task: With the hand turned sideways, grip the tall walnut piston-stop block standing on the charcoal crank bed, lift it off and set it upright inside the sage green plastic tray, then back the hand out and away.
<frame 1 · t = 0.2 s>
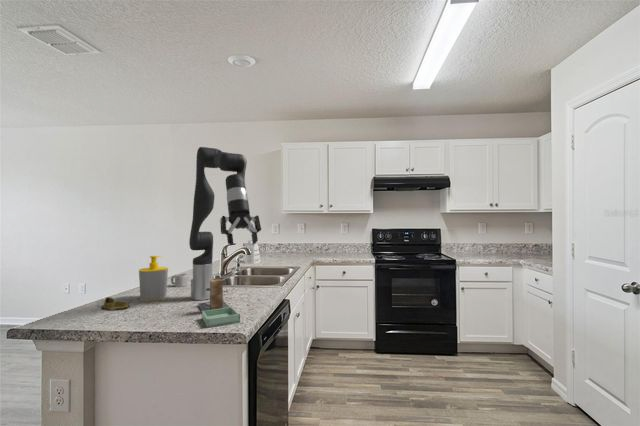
hand: (243, 244, 113), 31 cm above the worktop, tool tilted 20°, fingers open, 8 cm apart
soap bottle: (153, 298, 159), on the worktop
grater: (252, 262, 286), on the worktop
crank bed: (214, 308, 141), on the worktop
seal: (115, 308, 143), on the worktop
mug: (178, 286, 189), on the worktop
piston stop: (216, 308, 138), point 1 cm above the worktop, touching crank bed
tray: (220, 320, 124), on the worktop
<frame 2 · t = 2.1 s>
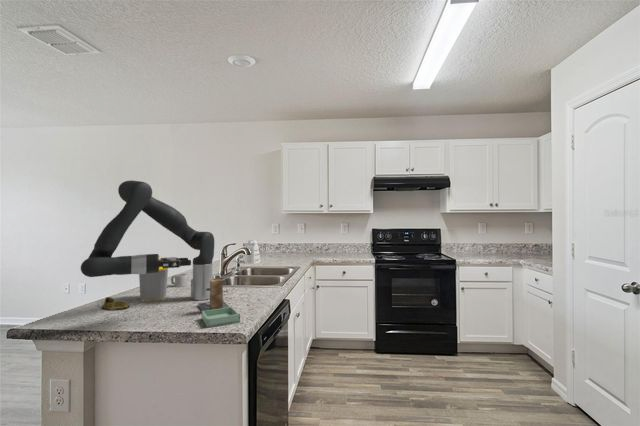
hand: (189, 261, 132), 22 cm above the worktop, tool horizontal, fingers open, 8 cm apart
nothing on the worktop moved.
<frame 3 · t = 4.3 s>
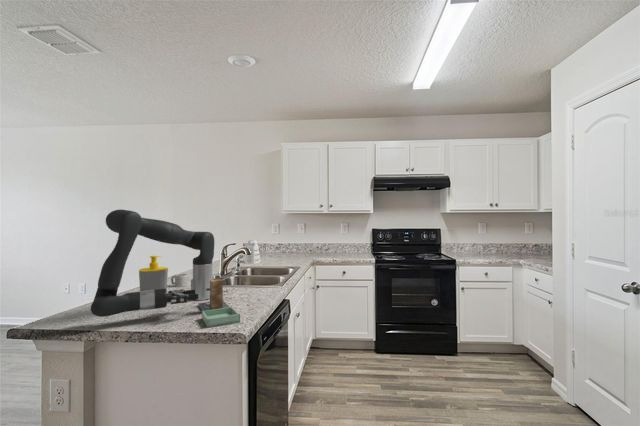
hand: (196, 294, 134), 8 cm above the worktop, tool horizontal, fingers open, 8 cm apart
nothing on the worktop moved.
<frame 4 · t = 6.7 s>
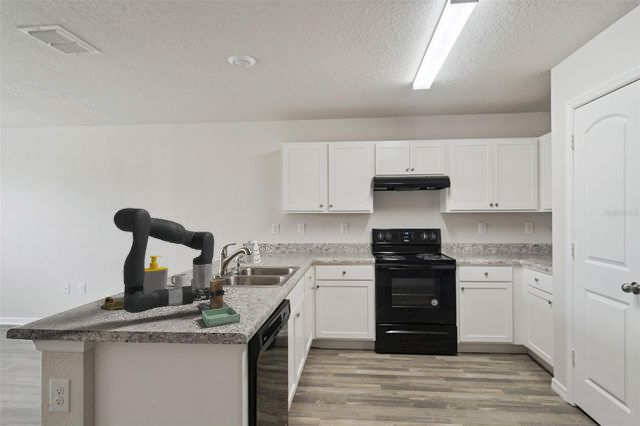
hand: (222, 291, 139), 8 cm above the worktop, tool horizontal, fingers closed on piston stop, 4 cm apart
piston stop: (216, 308, 138), point 1 cm above the worktop, touching crank bed, gripper
everything else where it was.
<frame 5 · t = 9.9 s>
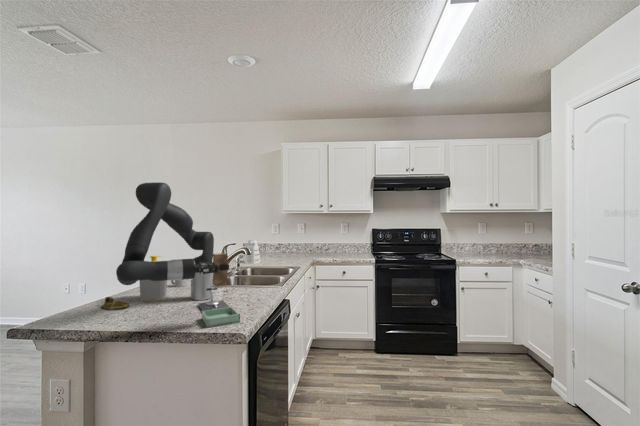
hand: (227, 266, 126), 21 cm above the worktop, tool horizontal, fingers closed on piston stop, 4 cm apart
piston stop: (220, 284, 124), point 14 cm above the worktop, touching gripper
everything else where it was.
when the fingers open (9 cm above the worktop, at t = 13.4 s): piston stop stays where it is, resting on tray.
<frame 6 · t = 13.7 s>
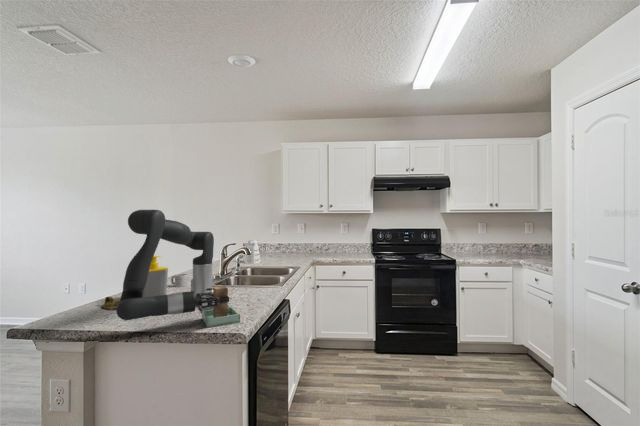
hand: (226, 297, 125), 9 cm above the worktop, tool horizontal, fingers open, 6 cm apart
piston stop: (220, 318, 124), point 1 cm above the worktop, touching tray
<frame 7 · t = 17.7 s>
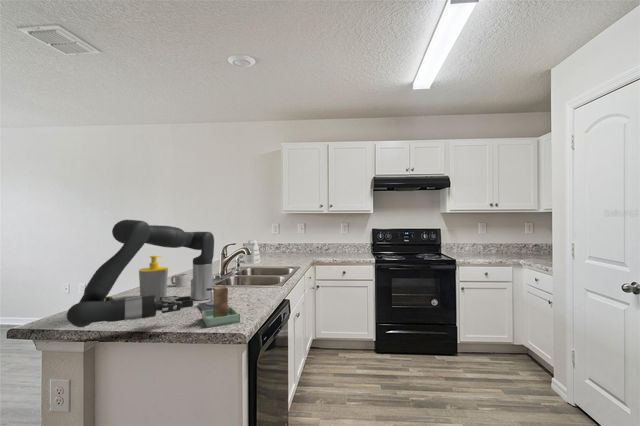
hand: (191, 301, 119), 9 cm above the worktop, tool horizontal, fingers open, 6 cm apart
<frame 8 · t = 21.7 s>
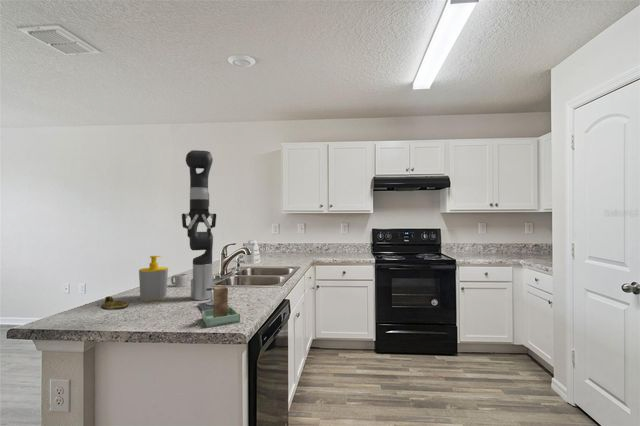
hand: (199, 237, 135), 32 cm above the worktop, tool pointing down, fingers open, 6 cm apart
at the end: piston stop 0.0 cm off-centre on the tray, point 0.8 cm above the tray's base; piston stop tilted 0°; the gripper is holding nothing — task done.
